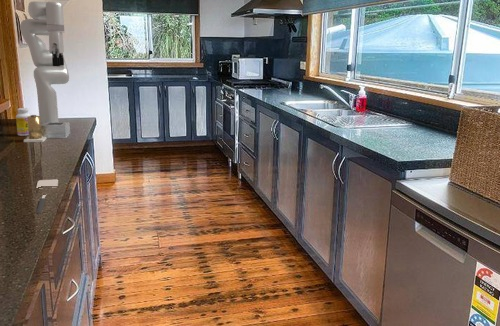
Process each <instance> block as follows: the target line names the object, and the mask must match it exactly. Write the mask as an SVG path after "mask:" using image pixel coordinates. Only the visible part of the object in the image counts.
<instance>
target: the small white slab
mask: <svg viewBox="0 0 500 326" xmlns="http://www.w3.org/2000/svg"><path fill="white" fill-rule="evenodd" d="M41 186H58V187H59V180H58V179H38V180H37V184H36V188H38V187H41ZM46 196H47V194H46V195H43V194H42V196H41V198H39V201H38V205H37V208H36V212H35V214H37V215H38V213H39V214H42V213H41V212H43V208H44V206H45V202H46Z"/></svg>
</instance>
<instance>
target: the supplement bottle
mask: <svg viewBox="0 0 500 326" xmlns="http://www.w3.org/2000/svg"><path fill="white" fill-rule="evenodd" d="M31 115H32V114H30V113H29V108H27V107H26V108H25V107H23V108H22V107H21V108H17V114H16V115H15V119H16V120H15V121H16V123H15V124H16V131H17V136H20V137H26V136H27V137H29V131H28V121H27V117H28V116H31Z"/></svg>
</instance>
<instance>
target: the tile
mask: <svg viewBox="0 0 500 326" xmlns="http://www.w3.org/2000/svg"><path fill="white" fill-rule="evenodd" d="M47 139H48V138H47V137H42V138H41V139H29V136H27V137H26V138H25V139H23V143H43V142H45V141H46V140H47Z"/></svg>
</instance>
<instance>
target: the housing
mask: <svg viewBox="0 0 500 326" xmlns="http://www.w3.org/2000/svg"><path fill="white" fill-rule="evenodd" d="M70 125H71V124H70V121H59V122H45V123H44V124H42V125H41V132H42V137H47V139H67V138H68V137H69V136H70V135H71V127H70Z"/></svg>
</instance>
